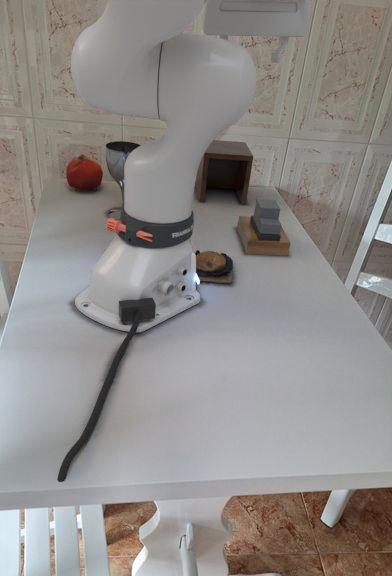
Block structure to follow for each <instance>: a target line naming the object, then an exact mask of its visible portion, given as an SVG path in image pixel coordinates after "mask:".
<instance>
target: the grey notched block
mask: <svg viewBox="0 0 392 576" xmlns="http://www.w3.org/2000/svg"><path fill="white" fill-rule="evenodd" d="M280 214H281V207H280V205H279V204H278V202H277V200H276V199H265V198H256V199H255V205H254V211H253V215H250V216H251V219H250V221H251V223H252V226H253V228H254V231H255V233H256V235H257V238H258V240H268V241H280V238H281V235H280V230H281V226H282V223H281V221H280Z"/></svg>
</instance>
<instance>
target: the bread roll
mask: <svg viewBox="0 0 392 576" xmlns="http://www.w3.org/2000/svg"><path fill="white" fill-rule="evenodd" d="M195 255H196V274H197V276H198V278H199V280H200V282H213V283H218V284H220V283H221V284H222V283H223V284H232V282H233V272H232V271H233V269H234V260H233V259H232V258H231V257H230V256H229V255H227V253H225V252H221V253H219V252H217V251H214V250H204V251H202V252H200V250H199V249H197V250H196V251H195Z"/></svg>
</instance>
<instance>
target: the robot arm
mask: <svg viewBox="0 0 392 576" xmlns="http://www.w3.org/2000/svg"><path fill="white" fill-rule="evenodd" d="M201 11H202V14H201V15H202V16H201V29H202V31H203V32H204V34H199V33H190V32H185V31H186V30H187V29H188V28H189V27H190V26H191V25H192V23H193V22H194V21H195V20H196V19H197V17H198V16H199V14H200V13H201ZM311 15H312V0H107V2H106V6H105V9H104V10H103V13H102V15H100V17H99V18H98V19H97V20H96V21H95V22H94V23H93V24H91V25H89V26H88V27H86V28H85V29H83V31H82V32H81V33H80V34H79V35H78V36H77V39H76V41H75V42H74V45H73V48H72V51H71V55H70V73H71V78H72V79H71V80H72V83H73V84H74V88H75V90H76V91H77V93H78V95H79V97H80V98H81V99H82V101H83V102H84V104H85V105H88V106H90V107H93V108H96V109H99V110H102V111H105V112H107V113H111V114H114V115H117V116H124V117H125V116H126V117H133V118H142V119H149V120H150V119H151V120H158V121H160V122H161V121H163V122H164V123H165V124H166V131H165V133H164V134H163V135H161V137H158V138H155V139H154V140H151V141H148V142H146V143H144V144H142V145H141V144H140V145H141V146H139V147H137V148H136V149H134V150H133V151H132V152H131V153H130V154H129V156H128V157H127V159H126V162H125V165H124V206H123V207H121V208H122V210H121V214H120V216H119V220H117V219H114V218H112V217H109V218H108V219H107V221H106V222H105V224H106V225H105V227H106V230H107V231H110V232H114V233H116V235H115V236H114V238H113V239H112V241H110V243H109V244H108V246H107V247H106V249H105V250H104V252H103V253H102V255H101V256H100V257H99V259H98V260H97V261H96V263H95V264H94V266H93V267H92V268H91V270H90V275H89V282H88V286H86V287H85V289H84V290H83V291H81V292H80V293H79V294H77V296H76V297H75V298H74V305H75V307H76V309H77V310H78V311H79V312H80V313H81V314H83V315H84V316H86V317H87V318H89V319H90V320H93V321H95V322H97V323H99V324H101V325H103V326H105V327H109V328H112V329H115V330H118V331H123V332H128V333H127V334H126V335H125V338H124V339H123V341H122V342H121V344H120V346H119V348H118V350H117V352H116V353H115V356H114V358H113V360H112V363H111V365H110V367H109V370H108V372H107V374H106V376H105V379H104V382H103V384H102V386H101V389H100V391H99V394H98V397H97V399H96V402H95V404H94V407H93V408H92V409H93V410H92V412H91V414H90V417H89V419H88V421H87V423H86V425H85V428H84V429H83V431H82V433H81V435H80V436H79V438H78V439H77V440H76V441H75V443H74V444H73V445H72V447H70V449H69V450H68V452H67V453H66V454H65V456H64V458H63V460H62V463H61V465H60V468H59V470H58V474H57V479H56V480H57V482H58V483H62V482H65V481H66V479H67V476H68V472H69V469H70V466H71V464H72V462H73V461H74V459H75V457H76V455H77V454H78V453H79V452H80V450H81V449H82V448H83V447H84V446H85V444H86V443H87V442H88V440H89V438H90V436H91V435H92V432H93V430H94V428H95V426H96V424H97V422H98V419H99V416H100V414H101V411H102V408H103V407H104V406H103V405H104V403H105V400H106V398H107V395H108V392H109V390H110V388H111V385H112V383H113V380H114V377H115V374H116V372H117V369H118V367H119V364H120V362H121V360H122V358H123V356H124V353H125V351H126V350H127V348H128V346H129V344H130V342H131V341H132V339H133V338H134V336H135V334H136V333H143V332H145V331H147V330H149V329H151V328H153V327H155V326H157V325H159V324H161V323H162V322H165V321H166V320H168V319H170V318H173V317H174V316H176V315H178V314H180V313H182V312H185V311H186V310H188V309H190V308H192V307H194V306H196V305H198V304H200V302H201V294H200V293H199V291H198V290H197V289H196V287H197V285H200V282H201V281H200V280H199V278H198V276H197V274H196V255H195V253H196V251H195V250H194V248H193V244H192V240H191V237H192V235H193V233H194V225H195V219H194V218H195V213H194V211H193V202H194V201H193V200H194V193H195V188H196V176H197V171H198V168H199V165H200V162H201V159H202V157H203V155H204V153H205V152H206V150H207V148H208V147H209V145H210V144H211V143H212V142H213V140H216V138H218V137H219V135H221V134H222V133H223V132H224V131H225V130H227V129H228V128H230V127H232V126H234V125H235V124H236V123H238V122H239V121H240V120H241V119H242V118H243V117H244V116H245V115H246V114H247V112H248V111H249V109H250V107H251V105H252V104H253V101H254V99H255V95H256V91H257V83H258V77H257V69H256V65H255V62H254V59H253V57H252V55H251V54H250V51H249V50H248V49H247V47H245V46H243V45H241V44H238V43H236V42H233V41H230V40H229V36H230V37H232V36H233V37H277V38H278V41H279V42H280V43H279V44H278V46H277V47H276V49H275V50H271V54H270V55H271V56H270V62H271V63H274V64H276V63H277V64H279V63H280V61H281V55H282V53H283V51H284V50H285V49H286V47H287V45H288V44H289V38H304V37H305V36H306V35H307V33H308V32H309V30H310V25H311ZM218 36H219V37H218Z"/></svg>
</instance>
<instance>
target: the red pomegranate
mask: <svg viewBox="0 0 392 576" xmlns="http://www.w3.org/2000/svg"><path fill="white" fill-rule="evenodd" d="M65 171H66V173H65V177H66V181H67V184H68V186H69V187H71V188H72V189H75V190H78V191H95V190H97V189H98V188H99V187H100V186H101V185H102V181H103V175H104V172H103V169H102V166H101V164H99V163H98V161H96V160H94V159H92V158H90V157H88V156H86V155H85V154H83V153H81V154H79V155H76V156H73V158H72V159H71V160H70V161H69V162H68V164H67V166H66V170H65Z"/></svg>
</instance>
